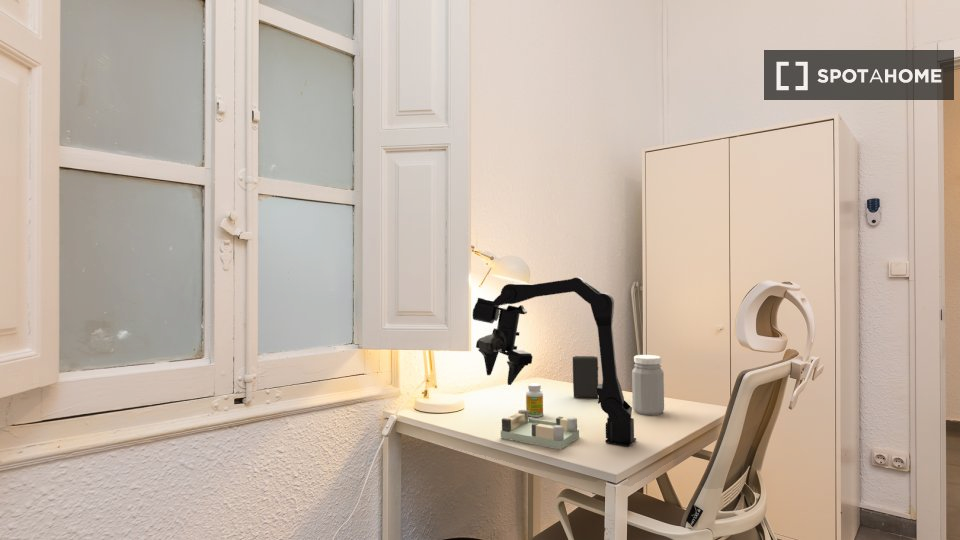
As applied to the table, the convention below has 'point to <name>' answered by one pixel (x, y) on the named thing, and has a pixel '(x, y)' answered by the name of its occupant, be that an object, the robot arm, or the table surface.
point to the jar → (648, 385)
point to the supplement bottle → (534, 400)
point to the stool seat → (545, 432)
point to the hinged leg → (515, 420)
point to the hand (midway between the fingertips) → (498, 379)
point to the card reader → (585, 376)
